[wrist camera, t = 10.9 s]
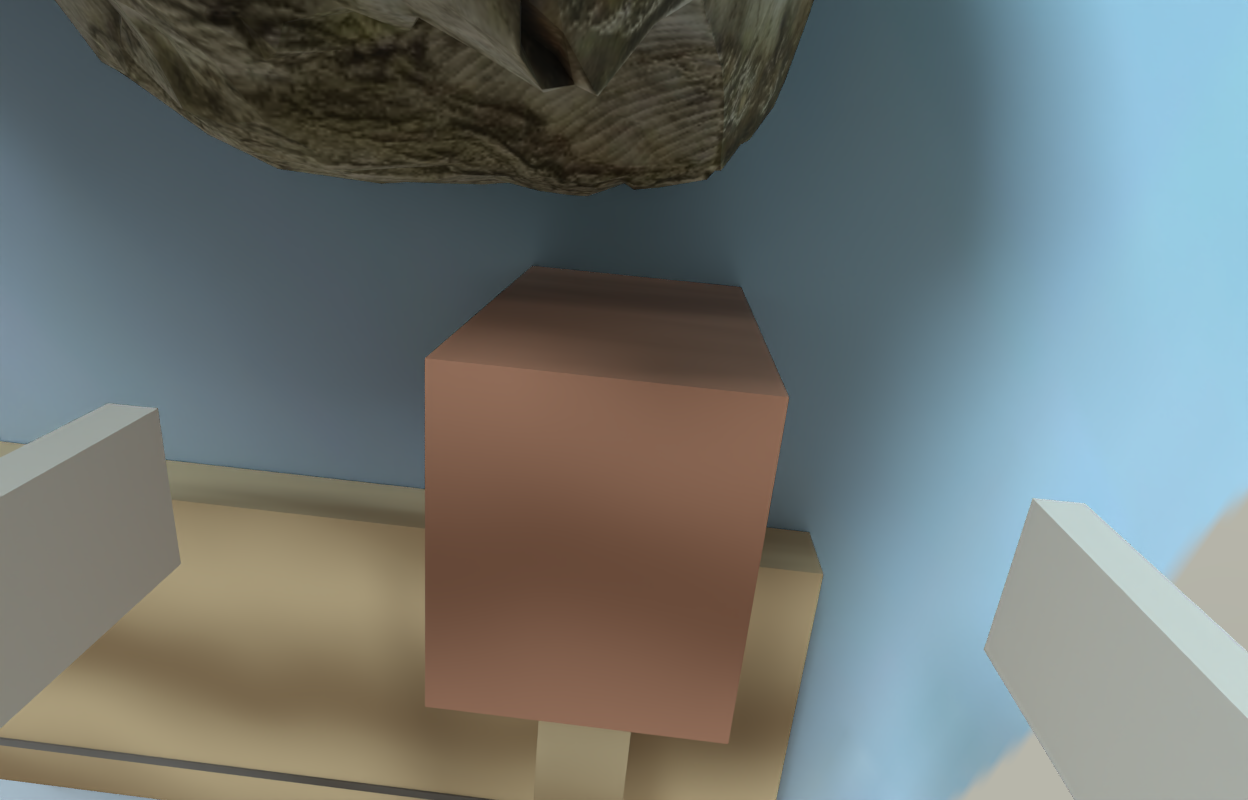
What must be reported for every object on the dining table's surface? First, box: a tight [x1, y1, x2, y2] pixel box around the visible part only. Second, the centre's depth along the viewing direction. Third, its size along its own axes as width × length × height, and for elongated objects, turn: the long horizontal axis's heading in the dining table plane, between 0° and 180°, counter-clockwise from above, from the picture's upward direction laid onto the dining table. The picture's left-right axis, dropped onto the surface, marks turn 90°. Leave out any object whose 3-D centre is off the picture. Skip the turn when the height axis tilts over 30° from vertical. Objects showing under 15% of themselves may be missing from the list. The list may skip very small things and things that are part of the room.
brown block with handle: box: [425, 266, 789, 800], centre depth 17 cm, size 16×5×8 cm, turn 175°
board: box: [0, 441, 823, 800], centre depth 21 cm, size 10×24×2 cm, turn 85°
